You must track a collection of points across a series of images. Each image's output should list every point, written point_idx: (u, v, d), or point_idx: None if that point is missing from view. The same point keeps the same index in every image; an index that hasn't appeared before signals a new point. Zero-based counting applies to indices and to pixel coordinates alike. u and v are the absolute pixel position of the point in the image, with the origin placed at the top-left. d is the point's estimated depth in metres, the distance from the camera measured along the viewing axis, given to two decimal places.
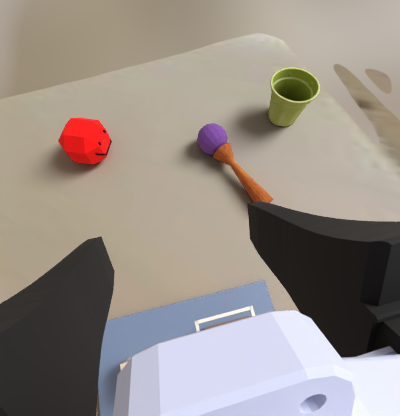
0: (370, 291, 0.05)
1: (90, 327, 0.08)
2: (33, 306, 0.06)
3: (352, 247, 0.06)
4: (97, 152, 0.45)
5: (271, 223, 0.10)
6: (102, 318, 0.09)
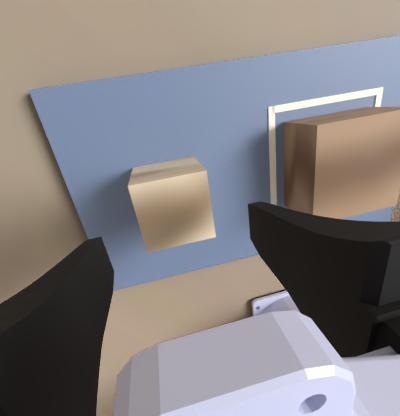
0: (370, 291, 0.05)
1: (90, 327, 0.08)
2: (33, 306, 0.06)
3: (352, 247, 0.06)
4: None
5: (271, 223, 0.10)
6: (102, 318, 0.09)
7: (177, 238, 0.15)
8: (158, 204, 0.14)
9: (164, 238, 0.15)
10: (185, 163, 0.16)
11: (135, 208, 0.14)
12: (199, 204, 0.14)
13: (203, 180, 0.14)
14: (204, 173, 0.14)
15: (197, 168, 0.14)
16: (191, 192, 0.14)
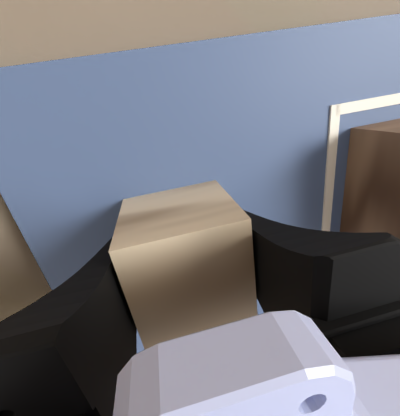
0: (319, 306, 0.05)
1: (128, 317, 0.08)
2: (88, 292, 0.06)
3: (301, 260, 0.05)
4: None
5: None
6: None
7: (195, 325, 0.09)
8: (164, 278, 0.08)
9: (174, 327, 0.09)
10: (206, 196, 0.10)
11: (123, 286, 0.08)
12: (234, 273, 0.08)
13: (244, 235, 0.08)
14: (247, 224, 0.08)
15: (231, 211, 0.08)
16: (223, 255, 0.08)
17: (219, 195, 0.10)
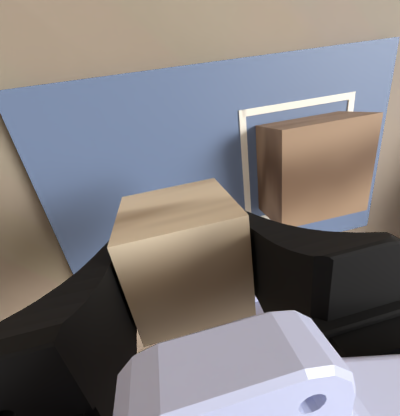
0: (319, 306, 0.05)
1: (128, 317, 0.08)
2: (88, 292, 0.06)
3: (301, 260, 0.05)
4: None
5: None
6: None
7: (194, 321, 0.09)
8: (163, 274, 0.08)
9: (172, 323, 0.09)
10: (205, 193, 0.10)
11: (122, 282, 0.08)
12: (233, 269, 0.08)
13: (242, 231, 0.08)
14: (244, 220, 0.08)
15: (229, 208, 0.08)
16: (221, 251, 0.08)
17: (217, 192, 0.10)
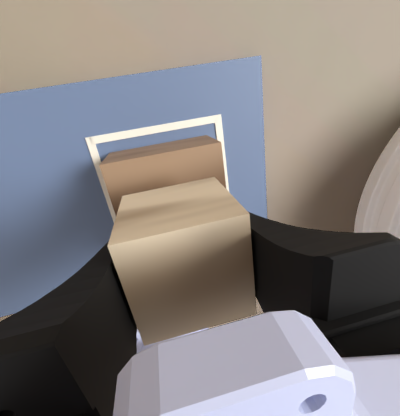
0: (319, 306, 0.05)
1: (128, 317, 0.08)
2: (88, 292, 0.06)
3: (301, 260, 0.05)
4: None
5: None
6: None
7: (194, 320, 0.09)
8: (163, 273, 0.08)
9: (173, 322, 0.09)
10: (205, 192, 0.10)
11: (122, 281, 0.08)
12: (233, 268, 0.08)
13: (242, 230, 0.08)
14: (245, 218, 0.08)
15: (230, 206, 0.08)
16: (221, 250, 0.08)
17: (218, 191, 0.10)
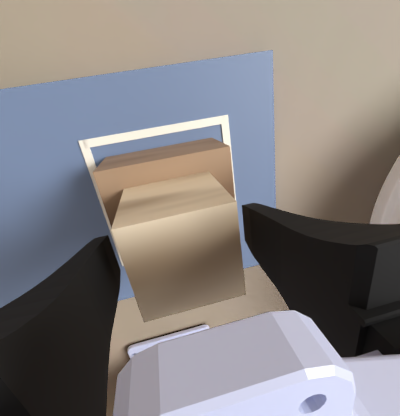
0: (358, 294, 0.05)
1: (99, 325, 0.08)
2: (46, 303, 0.06)
3: (340, 250, 0.05)
4: None
5: (264, 225, 0.10)
6: (110, 316, 0.09)
7: (189, 299, 0.10)
8: (160, 255, 0.09)
9: (170, 301, 0.10)
10: (199, 184, 0.11)
11: (124, 262, 0.09)
12: (223, 251, 0.09)
13: (231, 216, 0.09)
14: (233, 206, 0.09)
15: (220, 196, 0.09)
16: (212, 234, 0.09)
17: (210, 183, 0.11)
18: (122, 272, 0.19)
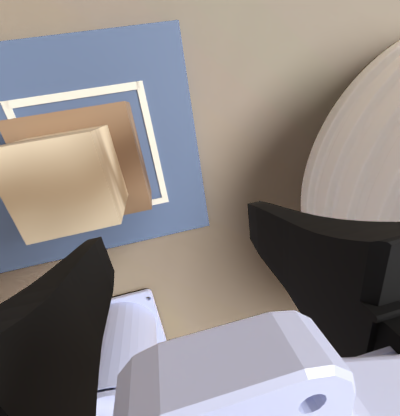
0: (370, 291, 0.05)
1: (90, 327, 0.08)
2: (33, 306, 0.06)
3: (352, 247, 0.06)
4: None
5: (271, 223, 0.10)
6: (102, 318, 0.09)
7: (66, 225, 0.11)
8: (28, 179, 0.10)
9: (47, 225, 0.11)
10: (84, 129, 0.12)
11: None
12: (89, 179, 0.11)
13: (88, 145, 0.10)
14: (88, 135, 0.10)
15: (85, 131, 0.11)
16: (74, 162, 0.10)
17: (93, 128, 0.12)
18: None
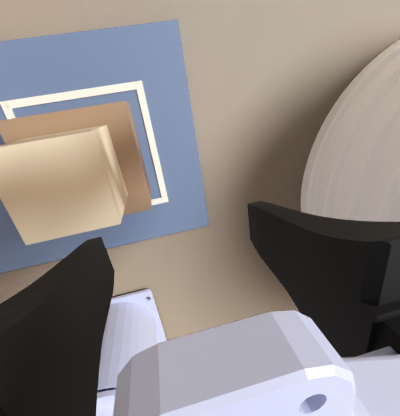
0: (370, 291, 0.05)
1: (90, 327, 0.08)
2: (33, 306, 0.06)
3: (352, 247, 0.06)
4: None
5: (271, 223, 0.10)
6: (102, 318, 0.09)
7: (65, 225, 0.11)
8: (27, 179, 0.10)
9: (46, 225, 0.11)
10: (84, 129, 0.12)
11: None
12: (88, 179, 0.11)
13: (87, 145, 0.10)
14: (87, 135, 0.10)
15: (85, 131, 0.11)
16: (73, 162, 0.10)
17: (93, 128, 0.12)
18: None
